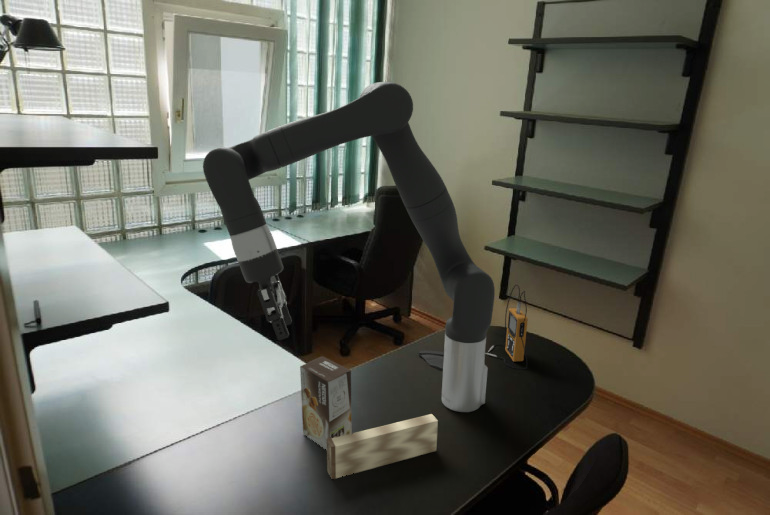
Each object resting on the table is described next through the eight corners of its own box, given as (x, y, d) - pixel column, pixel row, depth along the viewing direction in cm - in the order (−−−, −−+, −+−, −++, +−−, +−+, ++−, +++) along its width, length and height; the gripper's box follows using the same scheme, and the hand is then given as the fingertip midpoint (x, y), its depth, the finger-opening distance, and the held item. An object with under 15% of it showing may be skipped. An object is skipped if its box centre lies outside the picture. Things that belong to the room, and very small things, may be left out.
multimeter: (476, 345, 149) (481, 280, 143) (509, 344, 150) (516, 279, 145) (491, 371, 135) (498, 299, 129) (528, 369, 136) (536, 298, 131)
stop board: (430, 443, 106) (431, 412, 104) (436, 451, 104) (438, 420, 102) (327, 470, 98) (326, 438, 96) (331, 480, 96) (331, 446, 93)
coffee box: (353, 439, 107) (353, 370, 102) (330, 454, 103) (328, 382, 98) (324, 421, 113) (322, 355, 108) (300, 434, 109) (298, 365, 104)
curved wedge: (431, 349, 147) (432, 344, 147) (471, 366, 138) (472, 360, 138) (412, 359, 141) (412, 354, 141) (452, 377, 133) (453, 372, 132)
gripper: (272, 252, 90) (302, 336, 93) (279, 241, 104) (305, 314, 107) (230, 266, 90) (262, 350, 93) (243, 253, 104) (270, 326, 107)
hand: (285, 331), depth 100 cm, fingers open, 8 cm apart
